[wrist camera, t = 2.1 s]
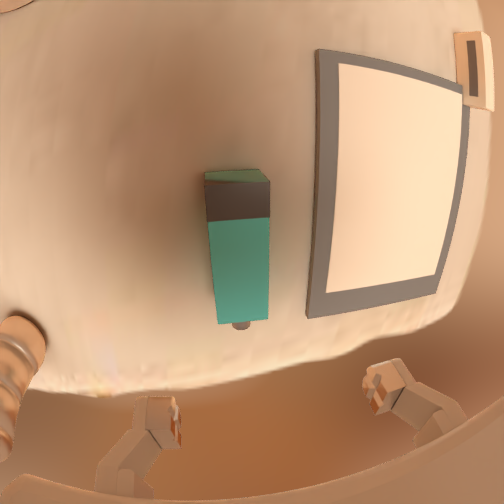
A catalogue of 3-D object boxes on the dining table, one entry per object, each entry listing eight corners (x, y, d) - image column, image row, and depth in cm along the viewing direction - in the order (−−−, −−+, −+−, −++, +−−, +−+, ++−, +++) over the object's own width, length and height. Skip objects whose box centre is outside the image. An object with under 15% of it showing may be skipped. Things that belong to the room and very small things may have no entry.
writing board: (315, 50, 17) (319, 48, 17) (464, 88, 19) (470, 88, 18) (305, 314, 28) (308, 319, 28) (431, 289, 30) (435, 293, 30)
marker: (204, 172, 21) (204, 185, 17) (258, 169, 21) (269, 181, 18) (217, 312, 27) (220, 342, 23) (259, 307, 27) (267, 336, 24)
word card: (453, 33, 16) (480, 31, 13) (463, 38, 17) (490, 37, 13) (456, 103, 20) (485, 108, 17) (466, 106, 20) (494, 111, 17)
